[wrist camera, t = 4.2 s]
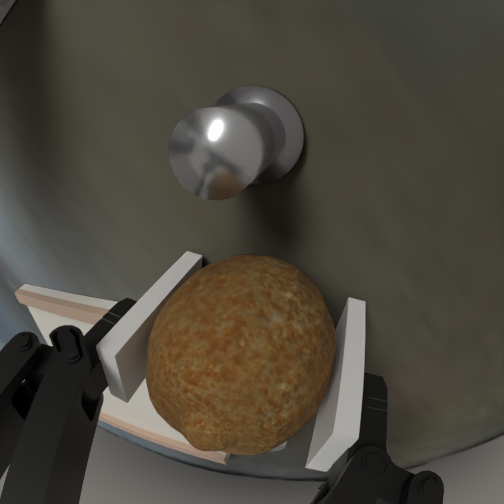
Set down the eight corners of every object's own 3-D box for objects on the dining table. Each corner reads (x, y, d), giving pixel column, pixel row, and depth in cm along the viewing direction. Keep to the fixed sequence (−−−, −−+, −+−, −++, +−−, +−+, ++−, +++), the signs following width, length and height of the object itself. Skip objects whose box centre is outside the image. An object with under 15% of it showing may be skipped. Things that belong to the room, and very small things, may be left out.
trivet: (96, 406, 28) (89, 415, 27) (25, 283, 21) (14, 292, 20) (231, 451, 23) (226, 464, 22) (182, 311, 16) (170, 328, 15)
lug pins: (254, 395, 18) (233, 448, 15) (203, 93, 11) (140, 99, 7) (312, 403, 17) (298, 460, 14) (299, 81, 10) (273, 74, 6)
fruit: (288, 191, 12) (193, 341, 5) (368, 310, 13) (356, 487, 6) (181, 262, 15) (71, 385, 8) (259, 352, 16) (201, 488, 9)
